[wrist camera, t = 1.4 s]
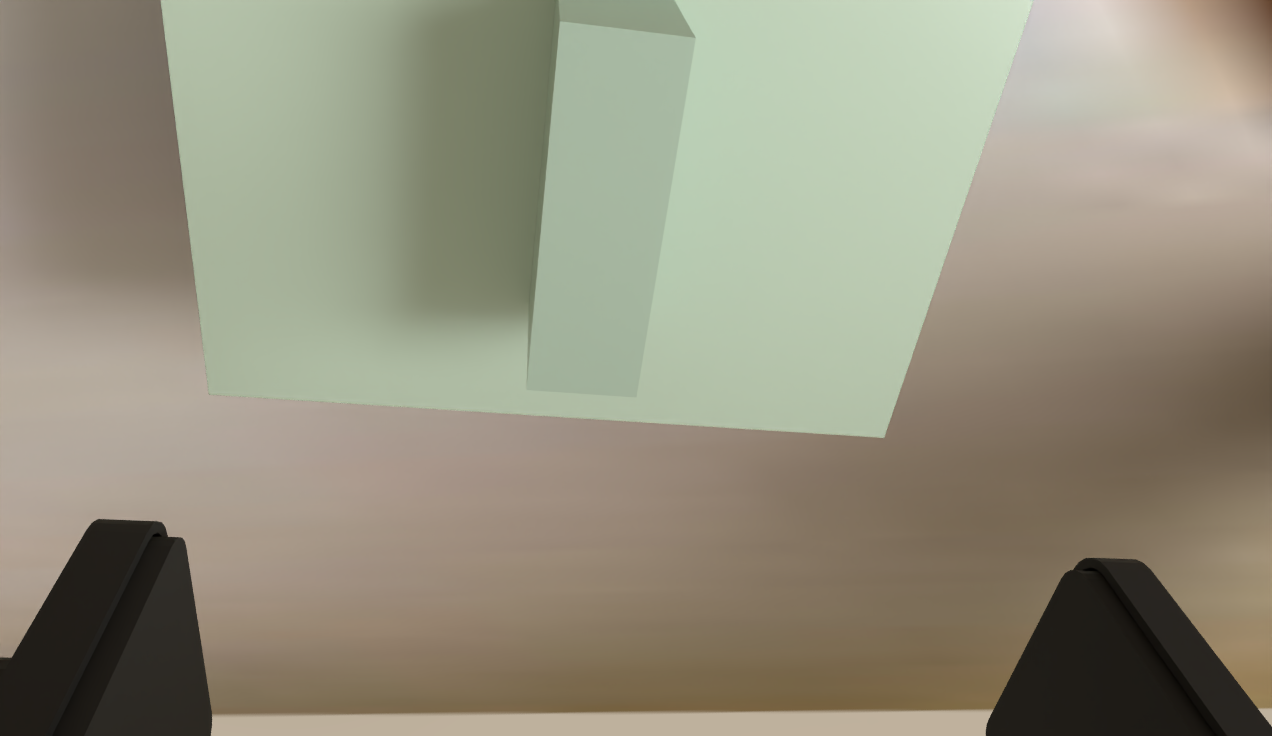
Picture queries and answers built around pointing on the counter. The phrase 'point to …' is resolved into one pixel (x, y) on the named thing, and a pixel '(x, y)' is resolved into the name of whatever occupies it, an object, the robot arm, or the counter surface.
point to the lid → (580, 199)
